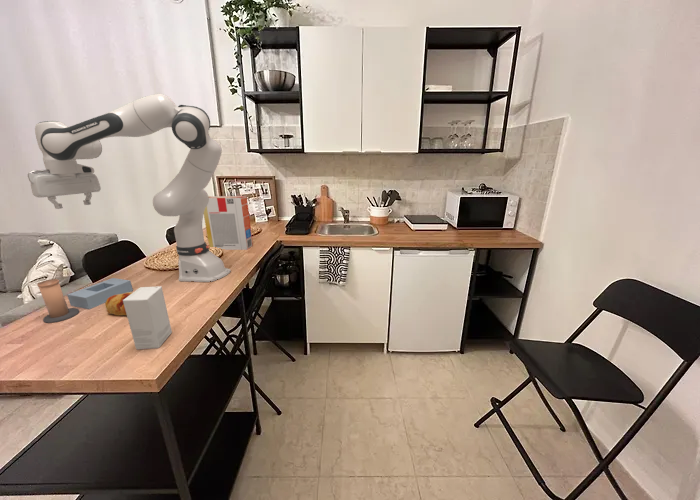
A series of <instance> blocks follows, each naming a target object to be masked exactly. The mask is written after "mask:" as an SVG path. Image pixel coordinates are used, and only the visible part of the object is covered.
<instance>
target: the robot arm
mask: <svg viewBox="0 0 700 500" xmlns="http://www.w3.org/2000/svg"><path fill="white" fill-rule="evenodd" d="M210 119H211V118H210V116H209V115H208V113H206V111H205V110H204V109H203V108H200V107H197V106H193V105H184V104H179V105H177V104H176V103H175V102H174V101H173V99H171V98H170V96H168V95H166V94H164V93H155V94H151V95H147V96H144V97H140V98H138V99H135V100H133V101H131V102H129V103H126V104H124V105H122V106H120V107H118V108H116V109H113V110H111V111H108V112H106V113H104V114H102V115H98V116H96V117H92V118H89V119H87V120H84V121H82V122H79V123H76V124H72V125H71V126H69V125H66V124H65V123H63V122H61V121H59V120H58V121H56V120H49V121H48V120H47V121H46V120H45V121H44V120H43V121H40V122H38V123H36V124H35V127H34V132H35V139H36V142H37V145H38V148H39V150H40V152H41V153H42V161H43V165H44V168H45V169H39V170H38V169H34V170H31V171H29V172H28V174H27V179H28V181H29V183H30V190H31V193H32V195H33V196H34V197H36V198H47V200H48V201H49V202H50V203H51V204H53V207H54V209H55V210H60V209H64V208H63V204H62V203H59V202H58V201H57V197H58V196H59V197H60V196H68V195H70V196H71V195H80V194H83V195H84V196H85V200H82V202H83V205H84V206H89V205H92V203H91V200H92V196H93V194H92V193H99V192H101V189H102V187H101V183H100V180H99V178H98V177H97V175H96V174H95V169H94V168H93V167H92V166H88V165H84V164H79V163H78V162H77V160H93V159H97V158H99V157H100V156H101V154H102V152H103V146H102V142H101V140H103V139H108V138H113V137H115V138H116V137H119V138H120V137H127V138H128V137H129V138H141V137H145V136H148V135H152V134H155V133H156V132H159V131H162V130H163V129H166V128H171V130H172V133H173V135H174V137H175V138H176V139H177V140H178V141H179V142H181V143H182V144H184V145H185V146H186V147H187V148H189V151H188V154H187V156H186V157H185V160H184V162H183V164H182V166H181V168H180V170H178V171H179V172H178V173H177V174H176V175H175V177H174V178H173V179H172V180H171V181H170V182H169V183H168V185H166V186H165V187H164V188H163V189H161V191H159V192H157V193H156V194H155V195H154V196H153V197H152V206H153V209H154V210H155V212H156V213H157V214H159V215H160V216H163V217H178V221H177V223H176V224H175V226H174V228H173V233H174V237H175V241H176V242H175V243H176V246H175V248H176V253H177V255H178V263H177V264H178V273H179V274H178V281H179V282H191V281H194V282H199V283H210V281H211V282H214V281H217V279H218V280H220V279H222V278H224V277H226V276H228V275H229V274H230V273H231V272H232V271H231V269H230V268H227V267H225V264H224V262H223V260H222V259H221V258H220V257H219V256H217V255H216V254H214V253H213V252H212V251H210V247H209V246H210V245H209V244H208V245H207V242H206V241H205V236H204V231H203V230H204V229H203V218H204V210H205V208H206V206H207V205H208V202H209V197H208V196H209V195H208V193H207V191H206V190H205V189H206V188H207V186H208V185H209V183H210V181H211V179H212V177H213V176H214V173H215V172H216V170H217V168H218V165H219V162H220V160H221V156H222V153H223V150H222V147H221V144H219V142H218V141H216V140H215V139H214V138H212V137H211V136H210V135H209V131H210V129H211V120H210Z"/></svg>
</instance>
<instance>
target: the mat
mask: <svg viewBox="0 0 700 500" xmlns="http://www.w3.org/2000/svg"><path fill="white" fill-rule="evenodd" d="M68 310H69V313H68V314H66V315H64V316H61V317H57V318H51V317H50V315H49V314H47V315H46V316H44V317H43V319H42V320H43V323H45V324H54V323H59V322H63V321H66V320H69V319H72V318H74V317H76V316H77V315H78V314H79V313H80V309H79V308H78V307H70V308H69V307H68Z"/></svg>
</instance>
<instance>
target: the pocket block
mask: <svg viewBox="0 0 700 500" xmlns="http://www.w3.org/2000/svg"><path fill="white" fill-rule="evenodd" d="M131 281H132V280H129V279H121V278H117V277H111V278H109V279H106V280H103V281H101V282H97V283H95V284H92V285H89V286H86V287H84V288H82V289H78V290H76V291H73V292H71V293H68V294H66V296H67V299H68V302H69V305H70V307H74V308H81V309H86V310H91V309H94V308H96V307H99V306H101V305H103V304H105V303H106V300H107V299H108V298H109V297H111V296H113V295H118V294H123V293H127V292H134V289H133V285H132V282H131Z"/></svg>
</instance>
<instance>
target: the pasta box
mask: <svg viewBox="0 0 700 500" xmlns="http://www.w3.org/2000/svg"><path fill="white" fill-rule="evenodd" d="M208 197H209V202H208V205H207V206H206V208H205V210H204V214H203V218H204V224H205V229H206V235H207V236H206V237H207V241H208V245H210V246H208V247H217V248H221V249H225V250H224V251H229V250H231V251H232V250H233V251H236V250H237V251H239V250H241V251H247V250H249V249H251V248H252V247H253V246H254V245H253V242H254V241H253V236H252V227H251V219H250V213H249V205H248V204H249V203H248V202H249V201H248V196H247V195H221V196H220V195H219V196H218V195H214V196H213V195H212V196H210V195H208Z"/></svg>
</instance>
